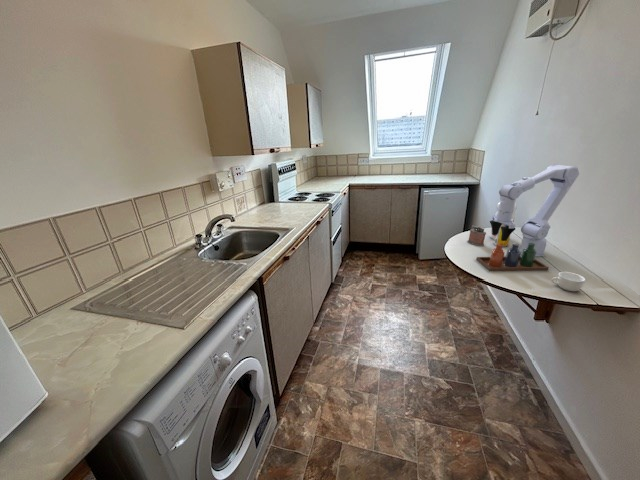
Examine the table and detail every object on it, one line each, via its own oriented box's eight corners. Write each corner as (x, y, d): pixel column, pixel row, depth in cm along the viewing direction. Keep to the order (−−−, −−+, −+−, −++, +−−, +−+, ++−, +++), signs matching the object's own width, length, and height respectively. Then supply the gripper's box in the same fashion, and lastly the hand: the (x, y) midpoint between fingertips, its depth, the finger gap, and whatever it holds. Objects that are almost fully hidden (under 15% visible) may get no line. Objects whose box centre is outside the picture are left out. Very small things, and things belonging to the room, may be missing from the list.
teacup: (573, 284, 108) (577, 272, 106) (585, 294, 101) (590, 282, 99) (544, 281, 111) (548, 270, 109) (554, 291, 104) (558, 279, 102)
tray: (529, 259, 129) (530, 256, 128) (547, 271, 118) (549, 267, 117) (475, 260, 130) (476, 257, 129) (488, 272, 120) (489, 268, 119)
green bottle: (527, 262, 126) (533, 241, 122) (535, 267, 121) (541, 246, 117) (516, 262, 126) (522, 241, 122) (523, 267, 121) (529, 246, 118)
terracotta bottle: (497, 262, 126) (502, 242, 123) (503, 267, 122) (508, 246, 118) (486, 262, 127) (491, 242, 123) (492, 267, 122) (497, 246, 118)
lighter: (484, 244, 147) (488, 227, 144) (482, 246, 145) (485, 229, 142) (469, 240, 153) (472, 224, 149) (466, 242, 151) (469, 225, 147)
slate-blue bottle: (512, 262, 126) (517, 242, 122) (519, 267, 122) (525, 246, 118) (501, 262, 126) (506, 242, 122) (508, 267, 122) (513, 246, 118)
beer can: (509, 247, 143) (516, 220, 137) (498, 247, 143) (504, 221, 138) (502, 242, 149) (509, 217, 143) (491, 243, 149) (497, 217, 143)
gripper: (488, 206, 131) (482, 232, 137) (506, 215, 118) (499, 243, 123) (502, 206, 131) (496, 232, 136) (522, 215, 118) (515, 243, 123)
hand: (499, 237), depth 130 cm, fingers open, 7 cm apart
